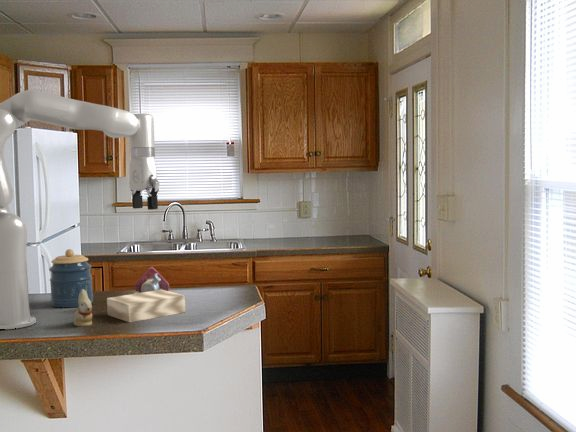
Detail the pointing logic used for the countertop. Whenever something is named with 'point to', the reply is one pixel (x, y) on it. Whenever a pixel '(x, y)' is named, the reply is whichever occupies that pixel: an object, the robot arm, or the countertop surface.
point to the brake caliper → (151, 282)
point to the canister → (70, 279)
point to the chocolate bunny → (83, 310)
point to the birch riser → (145, 305)
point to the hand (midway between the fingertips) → (145, 208)
